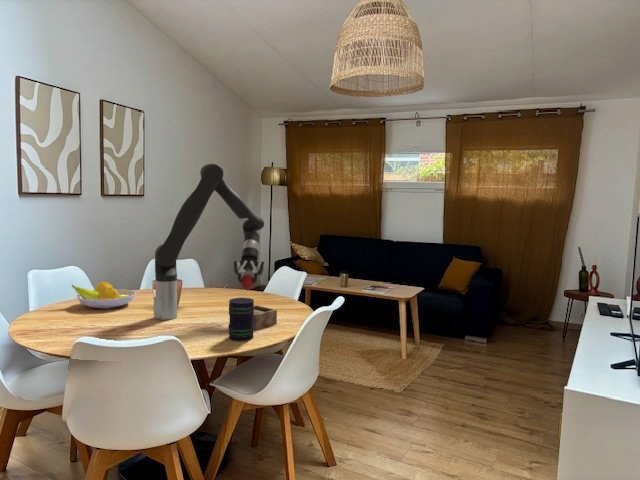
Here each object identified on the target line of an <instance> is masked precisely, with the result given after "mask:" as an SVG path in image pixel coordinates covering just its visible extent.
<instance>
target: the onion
mask: <svg viewBox="0 0 640 480" xmlns="http://www.w3.org/2000/svg"><path fill="white" fill-rule="evenodd" d="M240 285H241V287H242V288H244V289H245V290H246V291H249V290H251V289H252V288H253V287H254V285H255V283H254V276H252V275H250V272H247V273H246V274H245V275H243V276H242V278H241V283H240Z"/></svg>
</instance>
